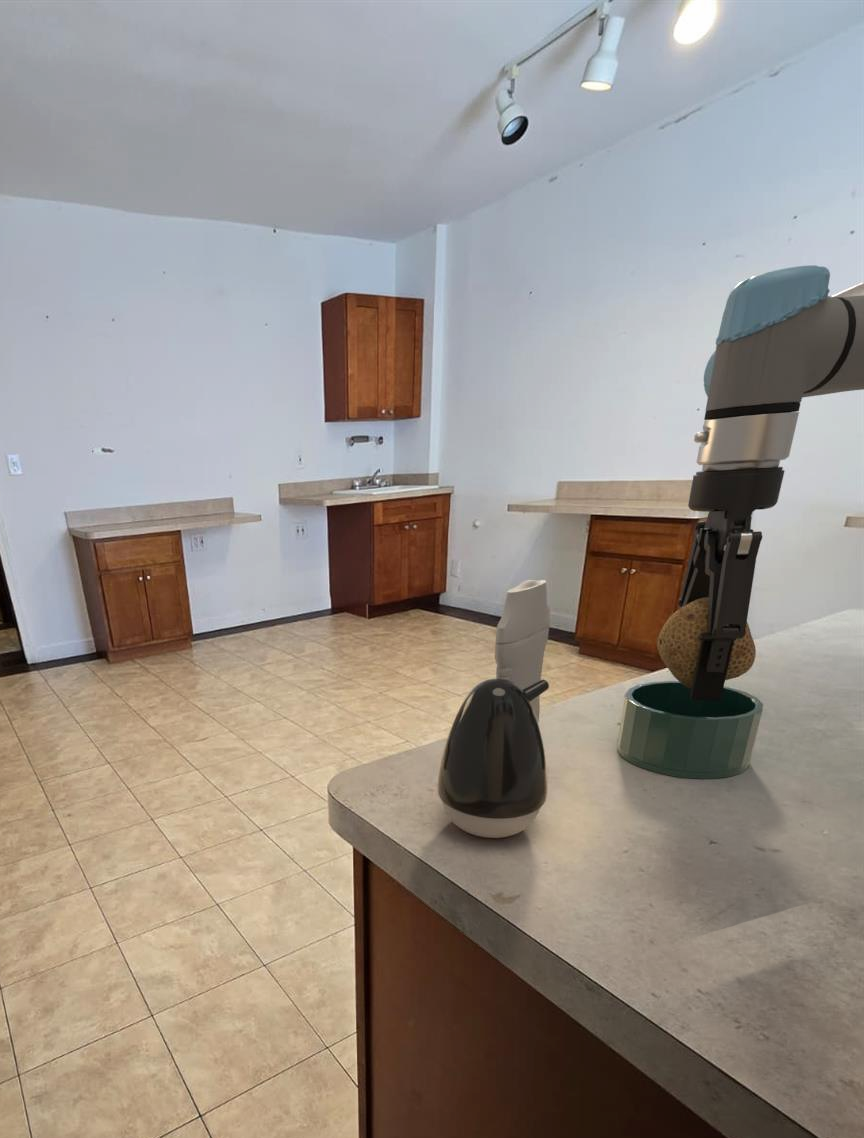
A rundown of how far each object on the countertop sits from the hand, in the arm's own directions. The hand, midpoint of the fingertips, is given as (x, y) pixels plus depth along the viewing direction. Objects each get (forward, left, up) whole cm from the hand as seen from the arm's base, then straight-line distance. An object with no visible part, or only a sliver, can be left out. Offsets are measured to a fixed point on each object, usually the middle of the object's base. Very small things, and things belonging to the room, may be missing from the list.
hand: (693, 685), depth 72 cm
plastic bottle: (+19, +9, -9) cm, 23 cm away
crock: (0, 0, -9) cm, 9 cm away
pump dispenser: (+21, +21, -9) cm, 31 cm away
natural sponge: (0, 0, 0) cm, 0 cm away
